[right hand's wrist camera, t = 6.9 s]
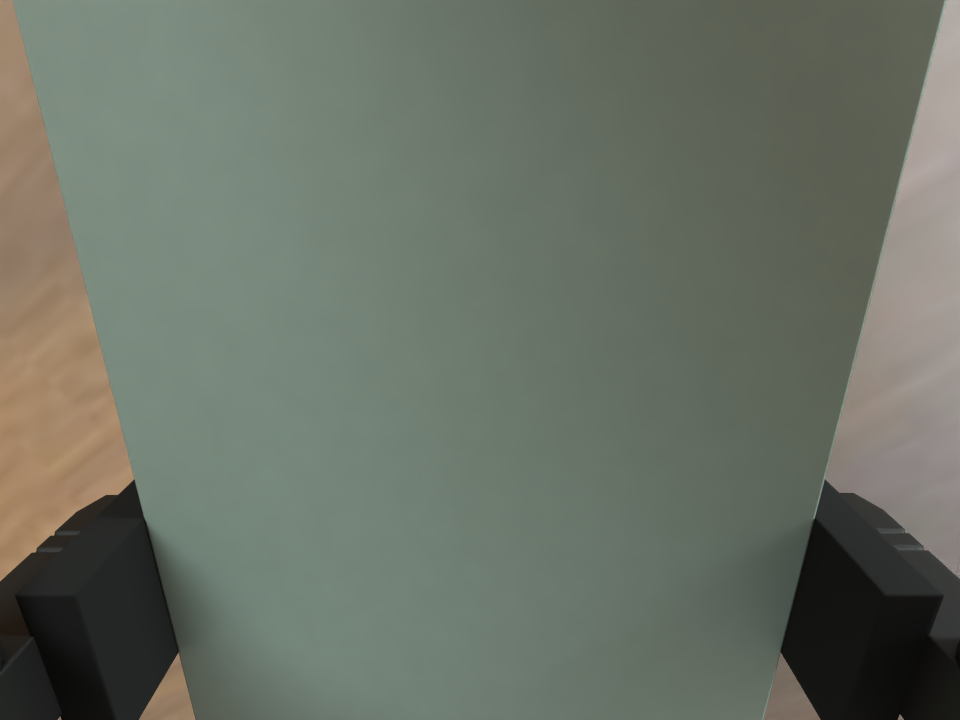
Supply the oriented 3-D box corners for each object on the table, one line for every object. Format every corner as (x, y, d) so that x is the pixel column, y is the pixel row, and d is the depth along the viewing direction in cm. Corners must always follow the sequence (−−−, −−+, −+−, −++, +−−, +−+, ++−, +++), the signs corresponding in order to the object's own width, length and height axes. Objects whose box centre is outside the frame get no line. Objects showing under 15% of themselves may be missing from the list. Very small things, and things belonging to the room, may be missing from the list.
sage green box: (286, -44, 15) (-98, -419, 5) (673, -44, 15) (1057, -417, 5) (340, 484, 20) (212, 794, 11) (619, 484, 20) (746, 794, 11)
